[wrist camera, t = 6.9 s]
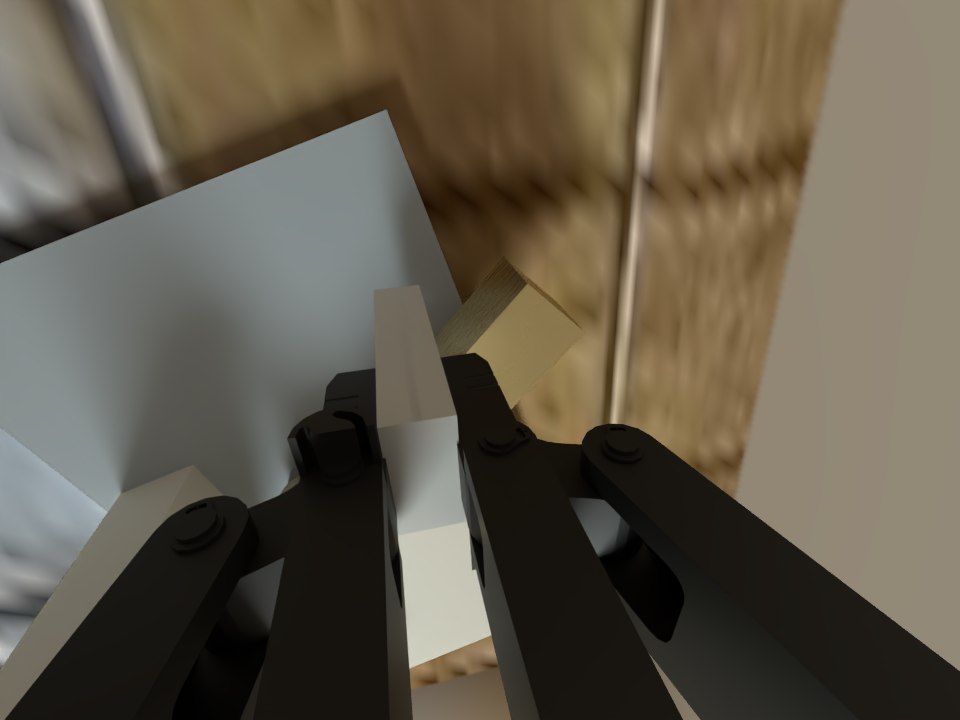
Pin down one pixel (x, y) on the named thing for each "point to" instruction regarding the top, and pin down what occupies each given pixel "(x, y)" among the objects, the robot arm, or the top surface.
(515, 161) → the top surface
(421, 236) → the mounted latch plate
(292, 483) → the bar
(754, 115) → the top surface
